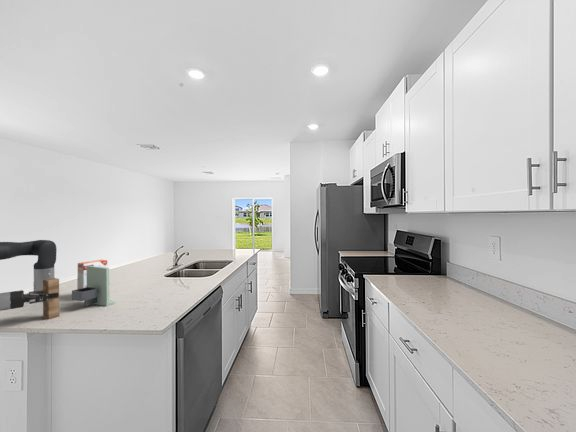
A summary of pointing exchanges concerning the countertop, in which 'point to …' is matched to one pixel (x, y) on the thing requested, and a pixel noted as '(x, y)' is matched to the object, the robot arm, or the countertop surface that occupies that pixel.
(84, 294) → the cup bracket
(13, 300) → the robot arm
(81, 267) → the cracker box
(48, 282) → the walnut rail
